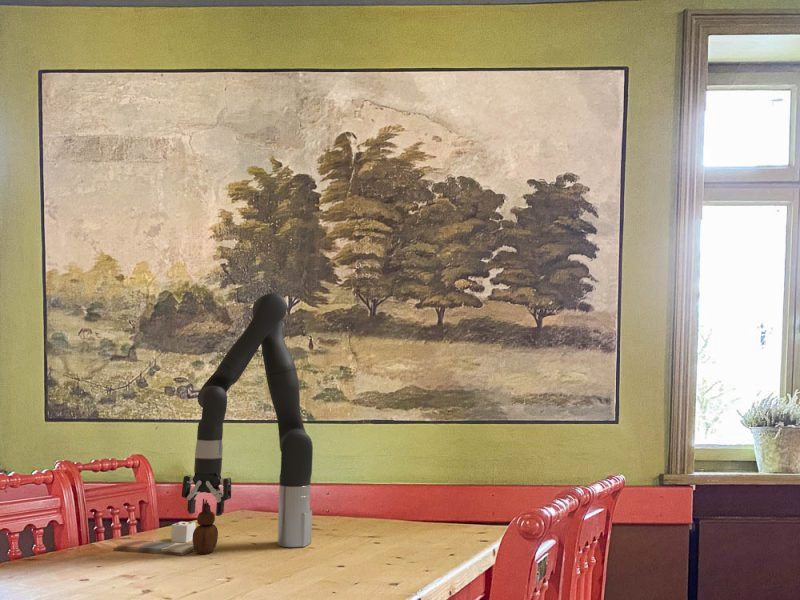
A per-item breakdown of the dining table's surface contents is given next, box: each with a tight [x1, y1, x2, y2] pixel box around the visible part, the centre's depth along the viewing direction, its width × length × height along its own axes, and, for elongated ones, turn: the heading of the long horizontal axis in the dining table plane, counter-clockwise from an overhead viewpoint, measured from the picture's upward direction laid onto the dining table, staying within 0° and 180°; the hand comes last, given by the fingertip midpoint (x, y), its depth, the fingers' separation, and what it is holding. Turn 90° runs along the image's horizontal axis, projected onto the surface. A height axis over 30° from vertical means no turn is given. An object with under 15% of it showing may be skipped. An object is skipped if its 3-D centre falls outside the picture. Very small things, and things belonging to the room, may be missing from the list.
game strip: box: [113, 539, 196, 557], centre depth 195 cm, size 22×9×1 cm, turn 77°
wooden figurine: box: [192, 498, 219, 555], centre depth 192 cm, size 7×6×15 cm
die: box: [170, 521, 197, 543], centre depth 206 cm, size 5×5×5 cm
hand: (205, 514), depth 193 cm, fingers open, 8 cm apart
